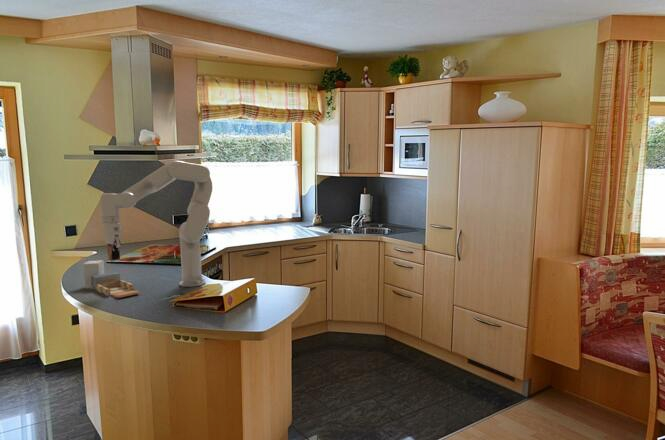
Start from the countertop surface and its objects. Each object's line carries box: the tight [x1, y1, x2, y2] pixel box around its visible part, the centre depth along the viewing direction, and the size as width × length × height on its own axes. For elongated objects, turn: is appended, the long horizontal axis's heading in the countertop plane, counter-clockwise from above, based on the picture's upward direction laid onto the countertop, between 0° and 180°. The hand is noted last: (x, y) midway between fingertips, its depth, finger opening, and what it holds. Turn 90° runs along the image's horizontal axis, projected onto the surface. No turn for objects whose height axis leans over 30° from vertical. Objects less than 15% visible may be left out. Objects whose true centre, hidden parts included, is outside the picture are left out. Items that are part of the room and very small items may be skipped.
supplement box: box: [82, 259, 106, 289], centre depth 250 cm, size 7×7×13 cm
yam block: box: [106, 244, 121, 262], centre depth 235 cm, size 4×4×7 cm
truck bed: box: [90, 271, 135, 297], centre depth 240 cm, size 21×12×7 cm, turn 45°
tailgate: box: [110, 290, 141, 298], centre depth 230 cm, size 1×10×9 cm
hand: (113, 258), depth 235 cm, fingers closed on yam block, 4 cm apart
